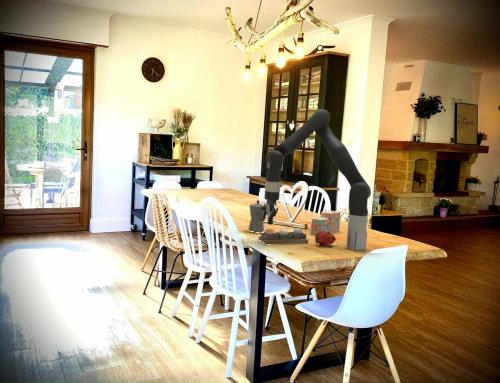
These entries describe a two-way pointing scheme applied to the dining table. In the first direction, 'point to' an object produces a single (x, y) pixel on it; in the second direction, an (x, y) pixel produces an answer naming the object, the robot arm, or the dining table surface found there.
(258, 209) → the coffeepot
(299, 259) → the dining table surface
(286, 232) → the cream button
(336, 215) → the stack of blocks
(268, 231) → the terracotta button
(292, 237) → the button board
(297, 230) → the slate button
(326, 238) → the dragon fruit
